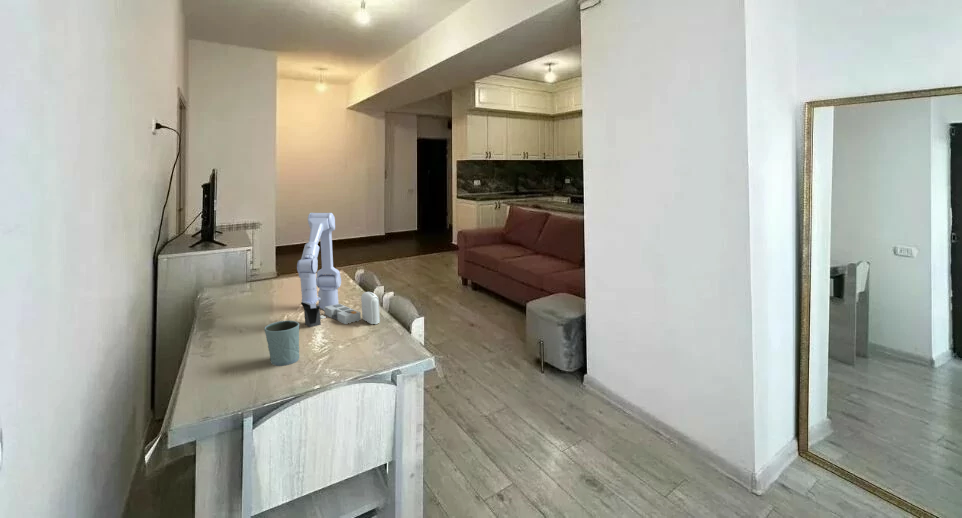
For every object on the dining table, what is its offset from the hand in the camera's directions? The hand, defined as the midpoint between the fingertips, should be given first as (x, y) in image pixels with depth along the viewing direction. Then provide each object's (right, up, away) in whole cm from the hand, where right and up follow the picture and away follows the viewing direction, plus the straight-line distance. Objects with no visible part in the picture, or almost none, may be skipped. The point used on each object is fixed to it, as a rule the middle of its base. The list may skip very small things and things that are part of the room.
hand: (311, 321), depth 177 cm
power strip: (+10, 0, +10) cm, 14 cm away
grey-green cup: (+5, -8, -34) cm, 35 cm away
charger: (+1, -1, +2) cm, 3 cm away
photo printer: (+23, -1, +5) cm, 24 cm away
